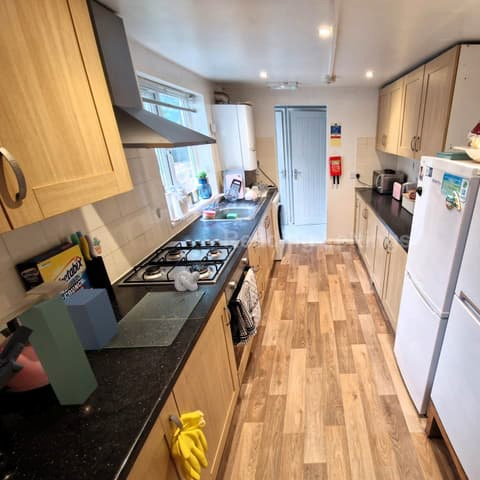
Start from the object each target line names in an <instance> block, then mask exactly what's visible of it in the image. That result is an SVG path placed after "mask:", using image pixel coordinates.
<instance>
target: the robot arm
mask: <svg viewBox="0 0 480 480" xmlns="http://www.w3.org/2000/svg"><path fill="white" fill-rule="evenodd" d="M32 332H33V330H32V329H30V328H28V327H25V326H22V325H18V327H17V328H16V330H15V331H14V333H13V334H12V336H11V337H10V338H9V339H8V341H7V342H6V344H5V345H4V347H3V348H2V350H1V352H0V391H1V390H2V389H3V388H4V387H5V386H7V385H8V384H9V383H10V382H11V381H12V380H13V379H14V378H15V377H17V375H18V374H19V373H20V372H22V370H23V369H24V368H25V365H22V364H20V363H19V362H17V360H18V359H19V357H20V356H21V354H22V352H23V351H24V349H26V343H27V341H28V340H29V339H28V338H29V336H30V335H31V333H32Z"/></svg>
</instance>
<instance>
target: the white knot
mask: <svg viewBox="0 0 480 480" xmlns="http://www.w3.org/2000/svg"><path fill="white" fill-rule="evenodd" d="M200 277H201V274H200V272H199V271H193V272H189V271H187V270H182V271H180V272H178V273H177V274H176V276H175V277H174V284H173V285H174V288H175V290H177V291H178V292H185V291H188V290H189V291H190V292H195V291H197V290H198V288H199V286H198V284H197V282H198V281H199V280H200Z"/></svg>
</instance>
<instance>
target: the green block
mask: <svg viewBox="0 0 480 480" xmlns="http://www.w3.org/2000/svg"><path fill="white" fill-rule="evenodd" d="M64 300H65V299H64V297H63V295H62V293H59V294H57V295H55V296H54V297H52V298H51V299H47V300H42V301H41V302H39V303H37V304H36V305H34V306H33V307H31V308H29V309H28V310H26V311H25V312H23V313H21V314H20V315H18V316H17V317H16V318H17V319H18V321H19V323H20V326H25V327H28V328H30V329H32V330H33V332H32V333H31V335H30V336H29V338H28V339H27V340H28V341H29V343H30V345H31V347H32V349H33V351H34V353H35V355H36V357H37V360H38V361H39V363H40V365H41V368H42V369H43V371H44V373H45V376H46V377H47V380H48V382H49V384H50V386H51V387H52V390H53V392H54V394H55V396H56V398H57V400H58V402H59V404H60V405H61V406H65V405H66V406H67V405H68V406H69V405H83V404H85V402H86V401H87V400H88V399H89V398H90V396H91V395H92V394H93V392H94V391H96V389H97V388H98V387H99V384H98V381H97V378H96V376H95V374H94V372H93V369H92V367H91V364H90V362H89V359H88V357H87V355H86V353H85V350H84V349H83V347H82V345H81V342H80V340H79V337H78V335H77V332H76V330H75V327H74V325H73V322H72V320H71V317H70V315H69V312H68V310H67V307H66V305H65V303H64Z"/></svg>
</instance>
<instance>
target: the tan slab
mask: <svg viewBox="0 0 480 480" xmlns="http://www.w3.org/2000/svg"><path fill="white" fill-rule="evenodd" d="M68 288H70V285H69V284H68V280H46V281H44V282H42V283H40V284H39V285H36V286H35V287H34V288H32V289H29V290H28V291H26V292H25V293H24V294H25V297H24V298H23V299H20V300H19V301H17V302H16V303H13V304H12V305H10V306H9V307H7V308H5V309H3V310H1V311H0V328H1V327H2V326H4V325H6V324H7V323H9V322H10V321H12V320H13V319H15V318H18V317H17V316H18V315H20V314H21V313H23V312H25V311H26V310H28V309H29V308H31V307H33V306H34V305H36V304H37V303H39V302H41V301H42V300H47V299H51V298H52V297H54V296H55V295H57V294H61V293H62V292H64V291H65V290H67V289H68Z"/></svg>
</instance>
